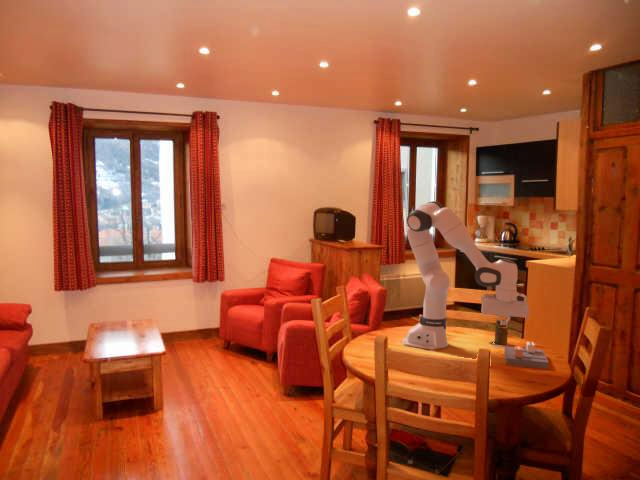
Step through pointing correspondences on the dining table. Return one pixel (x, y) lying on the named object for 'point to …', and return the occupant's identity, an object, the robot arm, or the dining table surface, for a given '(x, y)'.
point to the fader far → (530, 347)
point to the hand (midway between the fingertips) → (503, 325)
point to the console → (526, 358)
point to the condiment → (500, 334)
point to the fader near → (518, 351)
